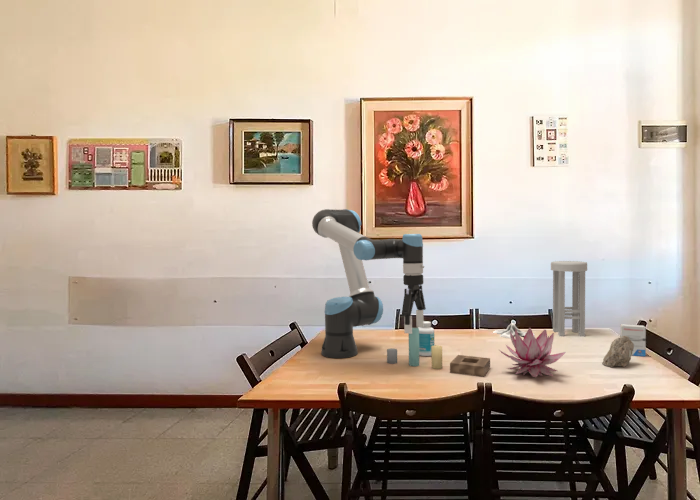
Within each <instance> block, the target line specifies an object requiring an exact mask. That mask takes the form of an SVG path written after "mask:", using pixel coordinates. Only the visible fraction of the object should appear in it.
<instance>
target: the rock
mask: <svg viewBox="0 0 700 500" xmlns="http://www.w3.org/2000/svg"><path fill="white" fill-rule="evenodd" d="M633 349H634V344H633V342H632V341H631V340H630V339H629V337H628V336H621V337H620V336H619V337H617V338H615V339H614V340H613V341H612V342H611V343H610V347H609V349H608V351H607V353H606V354H605V356H603V360H602V362H601V364H602V365H603V366H605V367H608V368H609V367H610V368H613V367H623V368H624V367H626V366H628V364H630V361H631V359H632V351H633Z"/></svg>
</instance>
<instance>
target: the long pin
mask: <svg viewBox="0 0 700 500" xmlns="http://www.w3.org/2000/svg"><path fill="white" fill-rule="evenodd" d="M408 366H409V367H419V366H420V355H419V328H418V327H412V334H408Z"/></svg>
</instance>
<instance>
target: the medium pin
mask: <svg viewBox="0 0 700 500" xmlns="http://www.w3.org/2000/svg"><path fill="white" fill-rule="evenodd" d="M430 357H431V369H433V370H442V369H443V346H442V345H439V344H434V345H433V346H431V356H430Z"/></svg>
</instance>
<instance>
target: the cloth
mask: <svg viewBox="0 0 700 500" xmlns="http://www.w3.org/2000/svg"><path fill="white" fill-rule="evenodd" d="M515 328H516V329H517V332H518V335H519V336H520V337H521V338H524V336H525V334H526V333H527V331H522V330H520V329H519V328H518V327H517V325H516V323H513V322H511V323H510V324H508V326H507V327H506V329H505V328H503V329H496V330H494V331H492V332H493V333H497V334H496V335H499V337H500V338H507V339H511V337H510V331H511V333H512V335H513V337H514V339H515ZM493 333H492V334H493ZM532 333H533V332H532ZM533 336H534V337H535V338H536V334H535V333H533Z"/></svg>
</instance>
